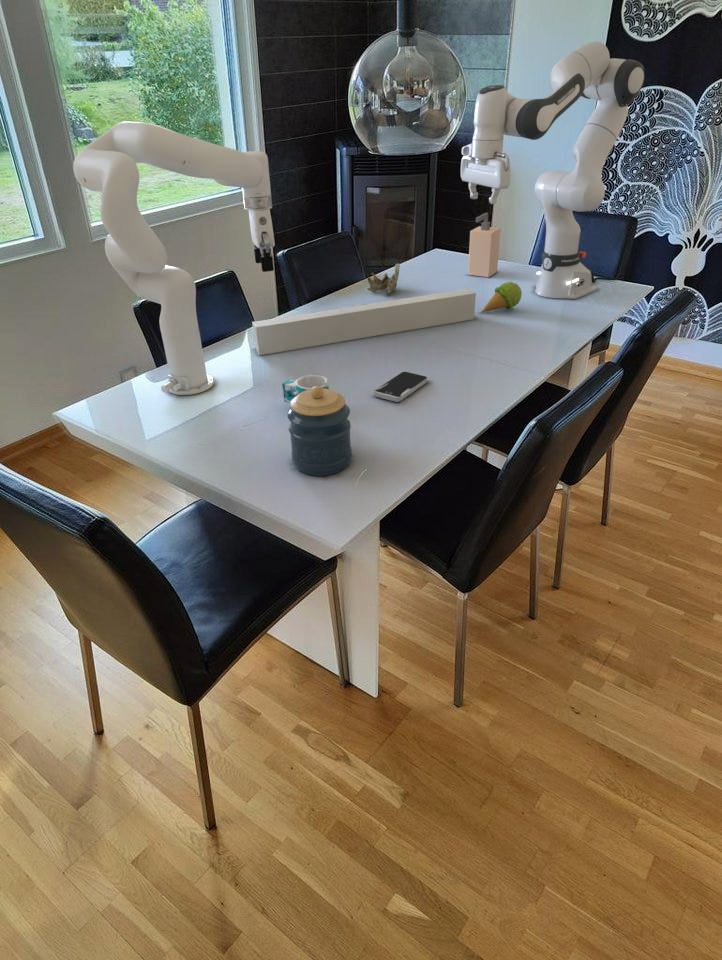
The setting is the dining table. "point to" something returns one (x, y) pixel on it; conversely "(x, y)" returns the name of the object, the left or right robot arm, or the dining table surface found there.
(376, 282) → the gold crown
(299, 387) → the mug
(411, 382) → the smartphone
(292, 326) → the post
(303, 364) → the dining table surface
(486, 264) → the soap dispenser
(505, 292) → the toy
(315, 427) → the canister
